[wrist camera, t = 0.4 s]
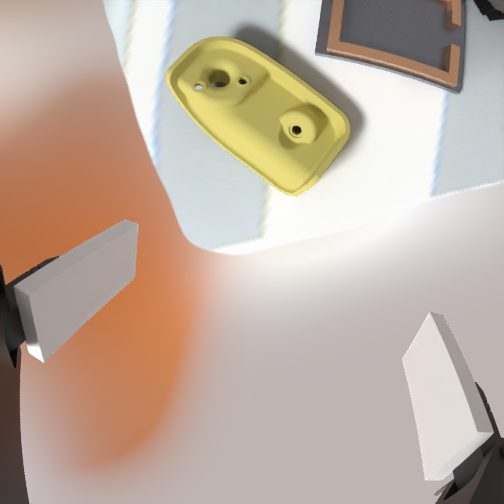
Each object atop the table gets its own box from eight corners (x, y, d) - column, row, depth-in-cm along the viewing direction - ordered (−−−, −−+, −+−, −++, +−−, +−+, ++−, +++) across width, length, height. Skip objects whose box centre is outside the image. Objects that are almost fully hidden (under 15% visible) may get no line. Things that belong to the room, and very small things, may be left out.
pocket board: (327, -36, 26) (327, -47, 23) (461, 2, 24) (469, -5, 21) (315, 54, 32) (314, 48, 29) (456, 94, 29) (466, 92, 26)
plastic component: (358, 125, 32) (308, 193, 32) (334, 141, 39) (290, 200, 39) (215, 23, 29) (155, 81, 29) (213, 54, 36) (163, 106, 36)
